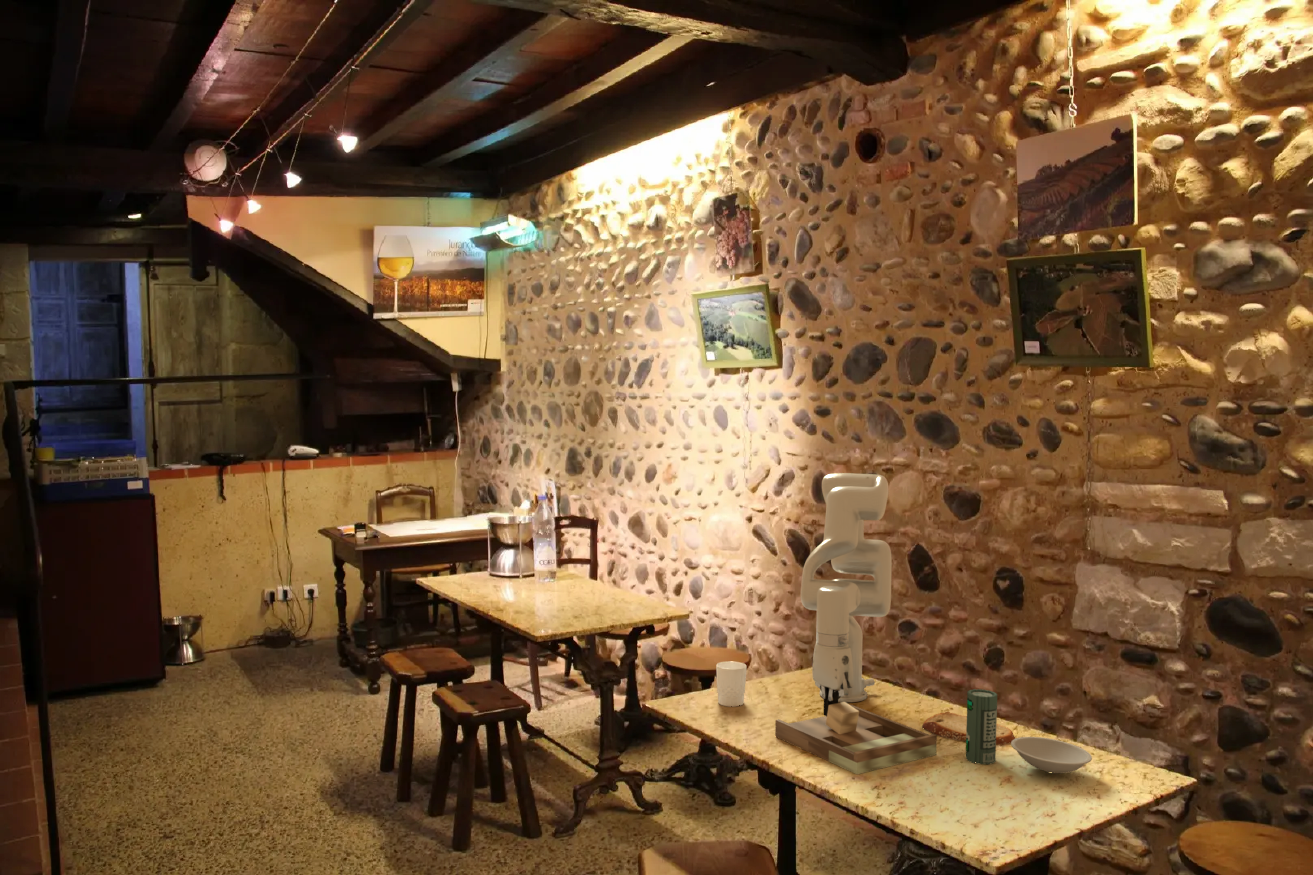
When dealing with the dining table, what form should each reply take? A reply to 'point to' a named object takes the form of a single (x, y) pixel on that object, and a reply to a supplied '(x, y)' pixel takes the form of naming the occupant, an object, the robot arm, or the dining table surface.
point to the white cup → (731, 683)
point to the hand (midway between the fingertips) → (830, 715)
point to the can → (981, 726)
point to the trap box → (859, 742)
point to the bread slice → (960, 728)
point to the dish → (1051, 754)
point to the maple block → (842, 717)
